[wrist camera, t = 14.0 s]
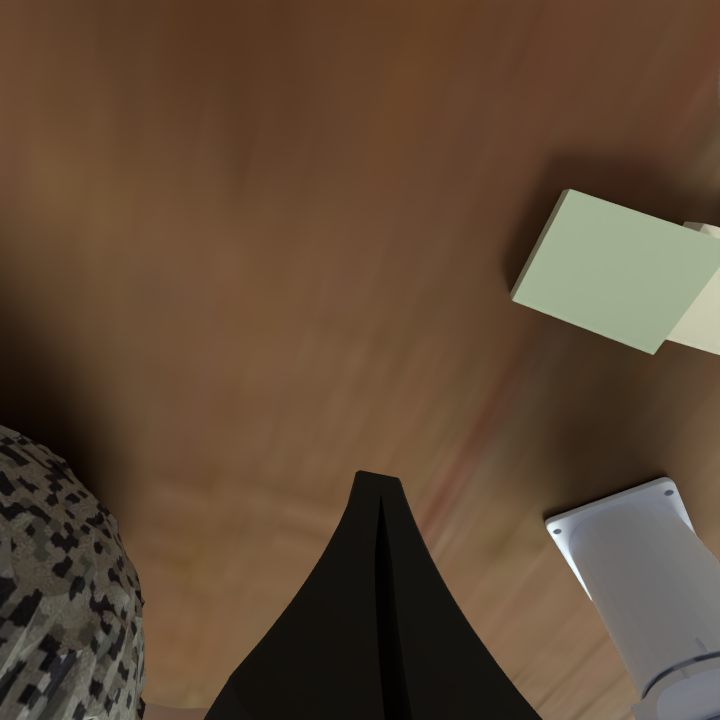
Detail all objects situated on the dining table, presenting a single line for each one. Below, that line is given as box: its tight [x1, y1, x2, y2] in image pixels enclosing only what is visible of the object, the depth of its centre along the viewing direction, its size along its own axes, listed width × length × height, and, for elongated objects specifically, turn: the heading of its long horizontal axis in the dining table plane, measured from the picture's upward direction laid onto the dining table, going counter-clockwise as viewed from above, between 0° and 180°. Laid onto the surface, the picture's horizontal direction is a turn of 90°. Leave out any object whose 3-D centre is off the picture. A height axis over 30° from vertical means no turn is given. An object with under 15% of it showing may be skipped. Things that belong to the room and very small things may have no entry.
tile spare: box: [510, 189, 720, 355], centre depth 17 cm, size 2×5×6 cm
